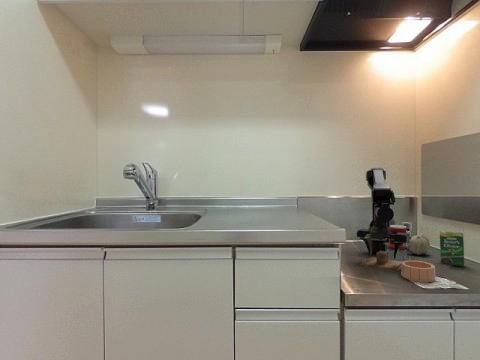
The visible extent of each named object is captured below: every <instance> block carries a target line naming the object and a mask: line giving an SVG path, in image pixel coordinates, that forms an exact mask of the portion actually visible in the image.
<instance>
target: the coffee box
mask: <svg viewBox="0 0 480 360" xmlns="http://www.w3.org/2000/svg"><path fill="white" fill-rule="evenodd" d="M464 241H465V240H464V233H463V232H454V231H453V232H451V231H439V246H440V248H439V249H440V263H441V264H443V263H444V264H448V265H450V266H455V267H456V266H457V267H463V268H464V267H465V247H464V245H465V244H464V243H465V242H464Z"/></svg>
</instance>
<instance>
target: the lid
mask: <svg viewBox="0 0 480 360" xmlns="http://www.w3.org/2000/svg"><path fill="white" fill-rule="evenodd" d="M376 254H377V255H376V256H371V257H369V258H368V259H366V260H364V261H365V262H364V261H363V262H361V263H362V265H364V266H363V267H365V266H370V267H375V268H374V269H376V268H381V269H386V270H385V271H387V270H392V271H395V270H396V269H397V268H399V267H400V266H401V262H402V261H400V260H393V259H389V251H387V252H385V251H379V252H378V253H376ZM370 267H369V268H370ZM381 269H380V270H381ZM392 271H391V272H392Z"/></svg>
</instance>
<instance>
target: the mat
mask: <svg viewBox="0 0 480 360" xmlns="http://www.w3.org/2000/svg"><path fill="white" fill-rule="evenodd" d="M365 261H366V260H364V261H363V262H365ZM363 262H361V263H360V264H359V266H360V267H365V268H369V269H370V268H372V269H378V270H383V271H387V272H393V273H398V272H400V270H401V266H400V267H399V268H397V269H396V270H395V271H392V270H386V269H381V268H375V267H370V266H364V265H362V263H363Z"/></svg>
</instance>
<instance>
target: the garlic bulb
mask: <svg viewBox="0 0 480 360" xmlns="http://www.w3.org/2000/svg"><path fill="white" fill-rule="evenodd" d="M408 242H409V246H408V247H409V249H408V250H409V251H411V252H412V254H415V255H417V256H420V255H425V254H427V253H428V252H429V250H430V248H431V244H430V238H429V237H428V236H426V235H425V234H424V233H419V234H416V235H413V236H412V237H410V241H408Z"/></svg>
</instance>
